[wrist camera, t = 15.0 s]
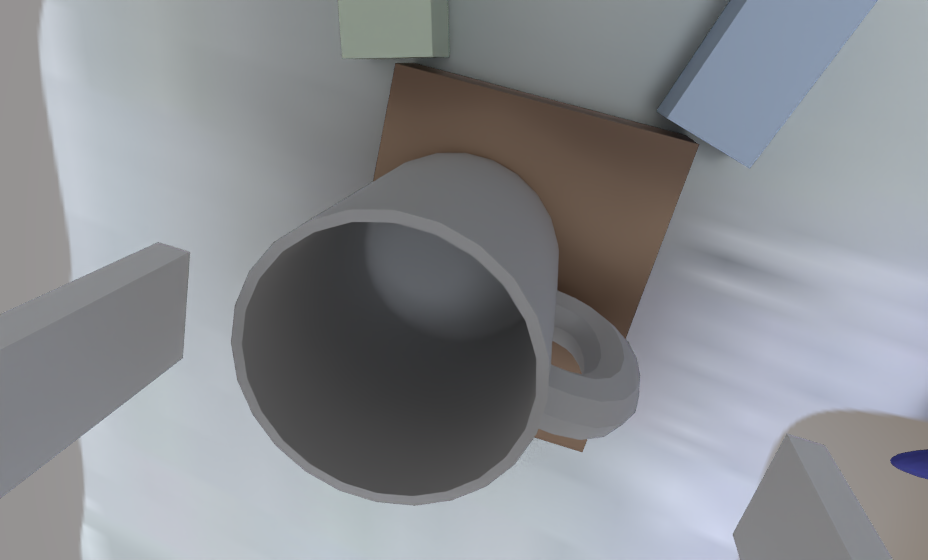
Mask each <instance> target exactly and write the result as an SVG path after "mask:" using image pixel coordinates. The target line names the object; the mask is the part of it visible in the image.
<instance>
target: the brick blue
mask: <svg viewBox="0 0 928 560" xmlns="http://www.w3.org/2000/svg"><path fill="white" fill-rule="evenodd" d="M877 1H878V0H730V1H729V3H728V4H727V6H726V7H725V9H724V10H723V12H722V13H721V15H720V16H719V18H718V19H717V21H716V22H715V24H714V25H713V27H712V28H711V30H710V31H709V33H708V34H707V36H706V37H705V39H704V40H703V42H702V43H701V45H700V46H699V48H698V49H697V51H696V52H695V54H694V55H693V57H692V58H691V60H690V61H689V63H688V64H687V66H686V67H685V69H684V70H683V72H682V73H681V75H680V76H679V78H678V79H677V81H676V82H675V84H674V85H673V87H672V88H671V90H670V91H669V93H668V94H667V96H666V97H665V99H664V100H663V102H662V103H661V105H660V106H659V108H658V109H657V112H658V113H660V114H661V115H663V116H664V117H666V118H667V119H669V120H671V121H672V122H674V123H676V124H677V125H679V126H680V127H682V128H684V129H685V130H687V131H689V132H690V133H692V134H694V135H695V136H697V137H699V138H700V139H702V140H703V141H705V142H707V143H708V144H710V145H712V146H713V147H715V148H717V149H718V150H720V151H722V152H723V153H725V154H726V155H728V156H730V157H731V158H733V159H735V160H736V161H738V162H740V163H741V164H743V165H745V166H746V167H748V168H749V169H750V168H751V166H752V165H753V164H754V162H755V161H756V160H757V158H758V157H759V156H760V155H761V153H762V152H763V151H764V149H765V148H766V147H767V145H768V144H769V143H770V141H771V140H772V139H773V137H774V136H775V135H776V133H777V132H778V131H779V130H780V128H781V127H782V126H783V124H784V123H785V122H786V120H787V119H788V118H789V116H790V115H791V114H792V112H793V111H794V110H795V108H796V107H797V106H798V105H799V103H800V102H801V101H802V99H803V98H804V97H805V95H806V94H807V93H808V91H809V90H810V89H811V87H812V86H813V85H814V83H815V82H816V81H817V80H818V78H819V77H820V76H821V74H822V73H823V72H824V70H825V69H826V68H827V66H828V65H829V64H830V62H831V61H832V60H833V59H834V57H835V56H836V55H837V53H838V52H839V51H840V49H841V48H842V47H843V45H844V44H845V43H846V41H847V40H848V39H849V37H850V36H851V35H852V34H853V32H854V31H855V30H856V28H857V27H858V26H859V24H860V23H861V22H862V20H863V19H864V18H865V16H866V15H867V14H868V12H869V11H870V10H871V9H872V7H873V6H874V5H875V3H876V2H877Z"/></svg>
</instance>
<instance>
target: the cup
mask: <svg viewBox="0 0 928 560" xmlns="http://www.w3.org/2000/svg"><path fill="white" fill-rule="evenodd" d="M558 261H559V248H558V243H557V239H556V235H555V231H554V227H553V223H552V220H551V217H550V215H549V214H548V212H547V210H546V208H545V207H544V205H543V203H542V201H541V200H540V198H539V196H538V195H537V193H536V192H535V191H534V190H533V189H532V188H531V187H530V186H529V185H528V184H527V183H526V182H525V181H524V180H523V179H522V178H521V177H519V176H518V175H517V174H516V173H514V172H512V171H511V170H509V169H507V168H506V167H504V166H502V165H500V164H499V163H497V162H495V161H493V160H491V159H487V158H483V157H479V156H476V155H472V154H468V153H435V154H432V155H428V156H425V157H422V158H418V159H415V160H411V161H408V162H405V163H403V164H402V165H400V166H398V167H397V168H395V169H393V170H392V171H390V172H388V173H387V174H385V175H383V176H382V177H380V178H378V179H377V180H375V181H373V182H372V183H370V184H368V185H367V186H365V187H363V188H362V189H360V190H358V191H357V192H355V193H353V194H352V195H350V196H348V197H347V198H345V199H343V200H342V201H340V202H338V203H337V204H335V205H333V206H332V207H330V208H328V209H327V210H325V211H324V212H322V213H320V214H319V215H317V216H315V217H314V218H312V219H310V220H309V221H307V222H305V223H304V224H302V225H300V226H299V227H297V228H296V229H294V230H292V231H291V232H289V233H288V234H286V235H284V236H283V237H281V238H280V239H278V240H276V241H275V242H274V243H273V244H272V245H271V246H270V247H269V249H268V250H267V251H266V252H265V253H264V254H263V256H262V257H261V258H260V259H259V260H258V262H257V263H256V264H255V265H254V266H253V268H252V269H251V270H250V271H249V273H248V276H247V278H246V280H245V283H244V285H243V287H242V290H241V292H240V295H239V297H238V299H237V302H236V304H235V309H234V319H233V328H232V338H231V345H232V351H233V357H234V363H235V369H236V375H237V380H238V383H239V385H240V387H241V389H242V392H243V394H244V396H245V398H246V401H247V403H248V405H249V407H250V410H251V412H252V414H253V416H254V417H255V418H256V420H257V421H258V422H259V424H260V425H261V426H262V428H263V429H264V430H265V432H266V433H267V435H268V436H269V437H270V439H271V440H272V441H273V443H274V444H275V445H276V446H277V447H278V448H279V449H280V450H281V451H283V452H284V453H285V454H286V455H287V456H288V457H289V458H291V459H292V460H293V461H294V462H295V463H296V464H298V465H299V466H300V467H301V468H302V469H303V470H304V471H306V472H308V473H309V474H311V475H313V476H315V477H316V478H318V479H320V480H322V481H324V482H325V483H327V484H329V485H331V486H332V487H334V488H336V489H338V490H340V491H343V492H346V493H349V494H352V495H356V496H359V497H362V498H365V499H368V500H372V501H375V502H382V503H393V504H404V505H414V506H415V505H422V504H429V503H436V502H443V501H450V500H454V499H456V498H459V497H461V496H464V495H466V494H469V493H471V492H474V491H476V490H479V489H481V488H483V487H486V486H487V485H489V484H490V483H491V482H492V481H494V480H495V479H496V478H498V477H499V476H500V475H501V474H503V473H504V472H505V471H507V470H508V469H509V468H510V467H512V466H513V465H514V464H515V463H516V462H517V460H518V459H519V458H520V456H521V455H522V454H523V452H524V451H525V449H526V448H527V447H528V445H529V444H530V442H531V441H532V440H533V438H534V437H535V435H536V434H537V431H538V429H541V430H543V431H546V432H548V433H551V434H554V435H559V436H564V437H568V438H573V439H578V440H585V439H591V438H598V437H604V436H606V435H607V434H609V433H610V432H612V431H613V430H615V429H616V428H618V427H619V426H621V425H622V424H623V423H624V422H625V421H627V420H628V419H629V418H630V417H631V416H632V415H633V414H634V413H635V411H636V407H637V402H638V397H639V384H640V373H639V367H638V362H637V358H636V356H635V354H634V352H633V351H632V349H631V347H630V345H629V343H628V341H627V340H626V339H625V338H624V337H623V336H622V334H621V333H620V332H619V331H618V330H617V329H616V328H615V326H614V325H612V324H611V323H610V322H609V321H608V320H606V319H605V318H604V317H603V316H601V315H600V314H599V313H598V312H596V311H595V310H594V309H593V308H591V307H590V306H588V305H586V304H585V303H583V302H581V301H579V300H577V299H576V298H574V297H571V296H569V295H567V294H565V293H562V292H560V291H558V290H557V286H558ZM552 341H554V342H556V343H557V344H559V345H561V346H562V347H564V348H566V349H567V350H568V351H569V352H570V353H571V354H572V355H573V357H574V358H575V360H576V361H577V363H578V365H579V367H580V370H581V373H582V374H578V373H573V372H569V371H566V370H564V369H561V368H559V367H556V366H554V365H551V354H552Z"/></svg>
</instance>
